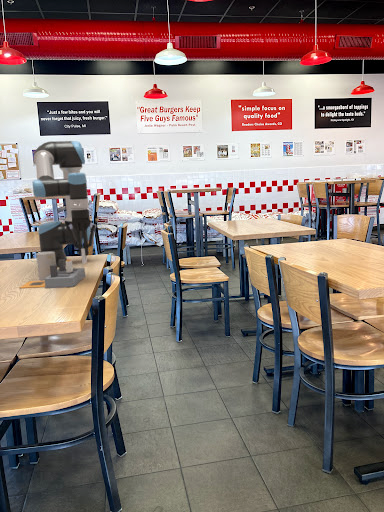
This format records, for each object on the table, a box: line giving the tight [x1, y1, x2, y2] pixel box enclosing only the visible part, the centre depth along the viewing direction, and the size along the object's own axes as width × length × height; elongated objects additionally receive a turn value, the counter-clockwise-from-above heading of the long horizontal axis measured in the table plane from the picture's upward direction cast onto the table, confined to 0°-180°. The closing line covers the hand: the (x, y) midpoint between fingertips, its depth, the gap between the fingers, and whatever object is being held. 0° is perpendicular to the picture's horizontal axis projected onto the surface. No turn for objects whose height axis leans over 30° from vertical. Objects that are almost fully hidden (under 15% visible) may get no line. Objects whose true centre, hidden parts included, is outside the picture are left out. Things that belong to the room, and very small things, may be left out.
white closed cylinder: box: [35, 251, 56, 281], centre depth 198 cm, size 8×8×12 cm
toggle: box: [65, 258, 74, 273], centre depth 189 cm, size 3×2×5 cm, turn 0°
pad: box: [19, 280, 45, 289], centre depth 187 cm, size 11×11×1 cm
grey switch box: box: [43, 259, 86, 289], centre depth 189 cm, size 20×12×9 cm, turn 0°
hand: (84, 262), depth 188 cm, fingers closed
